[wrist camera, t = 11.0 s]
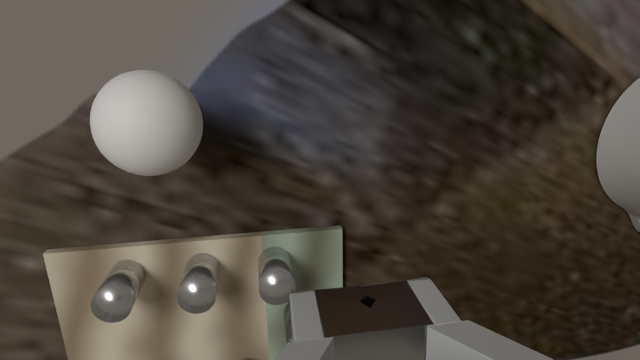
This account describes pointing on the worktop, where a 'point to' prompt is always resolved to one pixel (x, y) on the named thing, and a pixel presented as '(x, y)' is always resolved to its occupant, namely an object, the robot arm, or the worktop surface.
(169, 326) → the board
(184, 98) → the lightbulb
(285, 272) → the spacers
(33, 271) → the worktop surface
